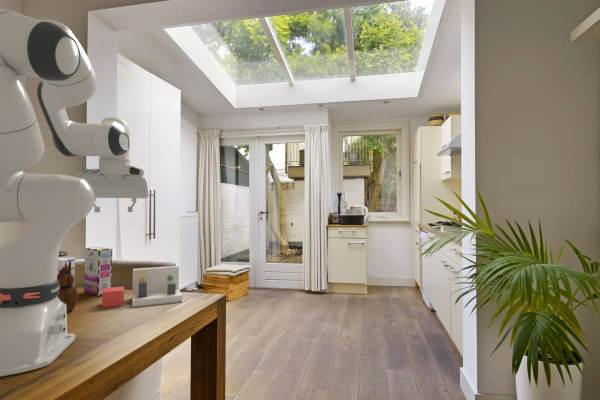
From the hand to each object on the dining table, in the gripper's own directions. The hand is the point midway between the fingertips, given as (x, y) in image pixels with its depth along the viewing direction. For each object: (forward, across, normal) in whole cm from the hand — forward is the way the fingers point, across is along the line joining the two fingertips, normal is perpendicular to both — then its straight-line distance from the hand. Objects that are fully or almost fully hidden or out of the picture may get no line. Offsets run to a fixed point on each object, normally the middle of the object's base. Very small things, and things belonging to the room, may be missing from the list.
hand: (113, 212), depth 111 cm
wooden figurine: (+30, -13, -3) cm, 33 cm away
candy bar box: (+30, -6, +19) cm, 36 cm away
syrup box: (+30, -16, +11) cm, 36 cm away
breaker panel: (+30, +13, 0) cm, 33 cm away
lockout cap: (+30, 0, 0) cm, 30 cm away
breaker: (+28, +9, -2) cm, 30 cm away
